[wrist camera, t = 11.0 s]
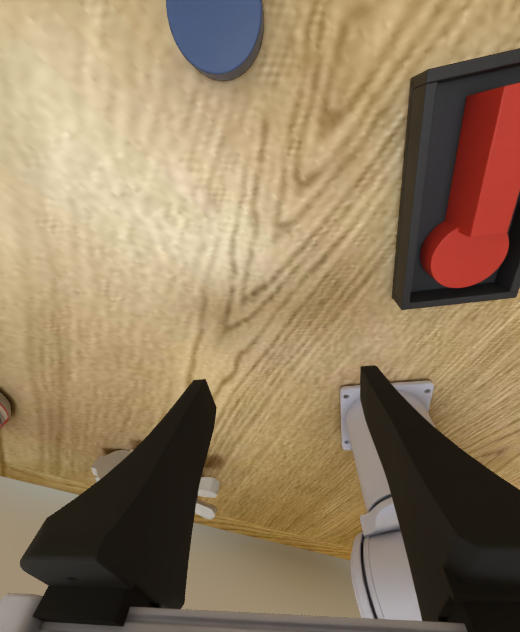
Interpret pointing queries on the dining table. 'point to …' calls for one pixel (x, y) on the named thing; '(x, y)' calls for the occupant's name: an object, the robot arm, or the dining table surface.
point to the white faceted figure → (206, 489)
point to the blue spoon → (217, 34)
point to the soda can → (4, 410)
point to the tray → (445, 179)
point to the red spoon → (479, 192)
